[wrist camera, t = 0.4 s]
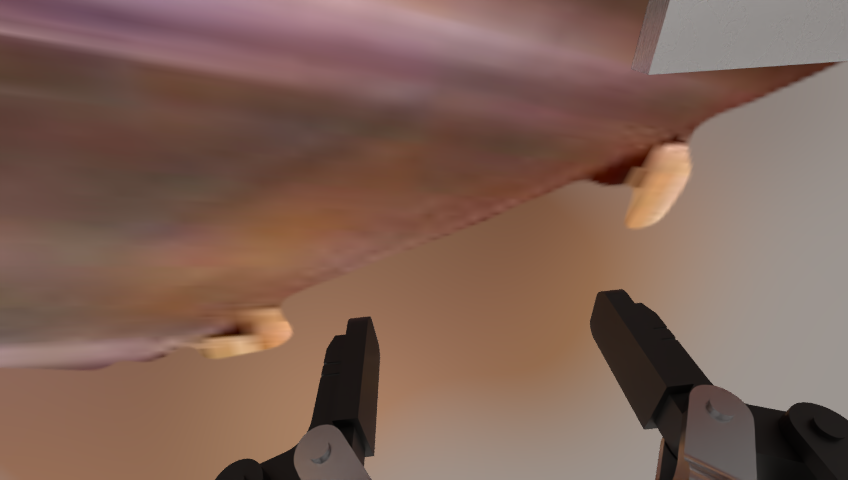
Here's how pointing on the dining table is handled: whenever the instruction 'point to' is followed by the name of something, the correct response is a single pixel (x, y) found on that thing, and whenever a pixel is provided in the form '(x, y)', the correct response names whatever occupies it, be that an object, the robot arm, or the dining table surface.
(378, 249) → the dining table surface
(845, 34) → the slab with square hole
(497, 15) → the dining table surface
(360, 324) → the robot arm
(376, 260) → the dining table surface
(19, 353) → the dining table surface
